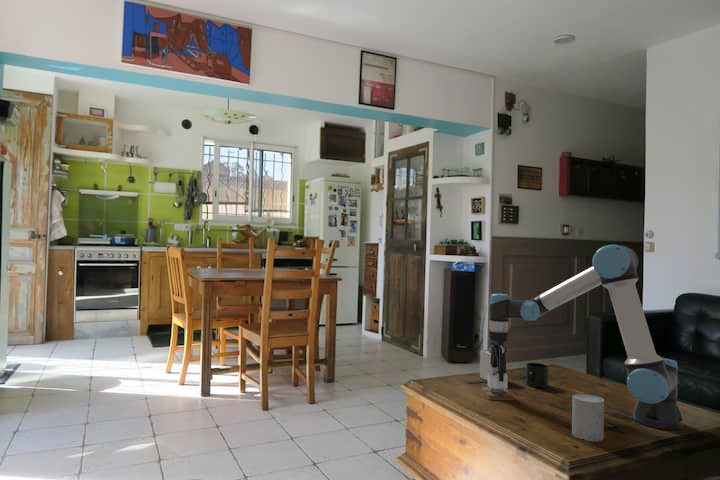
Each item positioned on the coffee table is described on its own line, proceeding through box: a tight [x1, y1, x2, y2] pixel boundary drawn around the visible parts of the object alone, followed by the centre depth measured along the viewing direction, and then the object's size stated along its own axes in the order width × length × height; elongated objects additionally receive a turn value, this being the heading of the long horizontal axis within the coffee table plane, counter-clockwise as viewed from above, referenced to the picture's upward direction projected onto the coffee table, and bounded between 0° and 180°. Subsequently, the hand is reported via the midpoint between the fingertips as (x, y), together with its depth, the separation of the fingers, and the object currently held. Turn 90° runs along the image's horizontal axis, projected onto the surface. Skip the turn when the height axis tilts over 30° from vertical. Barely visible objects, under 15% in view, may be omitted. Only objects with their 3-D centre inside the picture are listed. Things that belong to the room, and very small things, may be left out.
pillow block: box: [481, 371, 515, 401], centre depth 194 cm, size 12×10×10 cm
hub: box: [487, 372, 509, 389], centre depth 194 cm, size 7×7×5 cm
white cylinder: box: [571, 392, 605, 442], centre depth 153 cm, size 10×10×12 cm
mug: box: [525, 362, 550, 389], centre depth 211 cm, size 9×12×9 cm
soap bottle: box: [479, 336, 507, 382], centre depth 220 cm, size 9×9×19 cm
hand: (497, 385), depth 194 cm, fingers closed on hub, 7 cm apart
